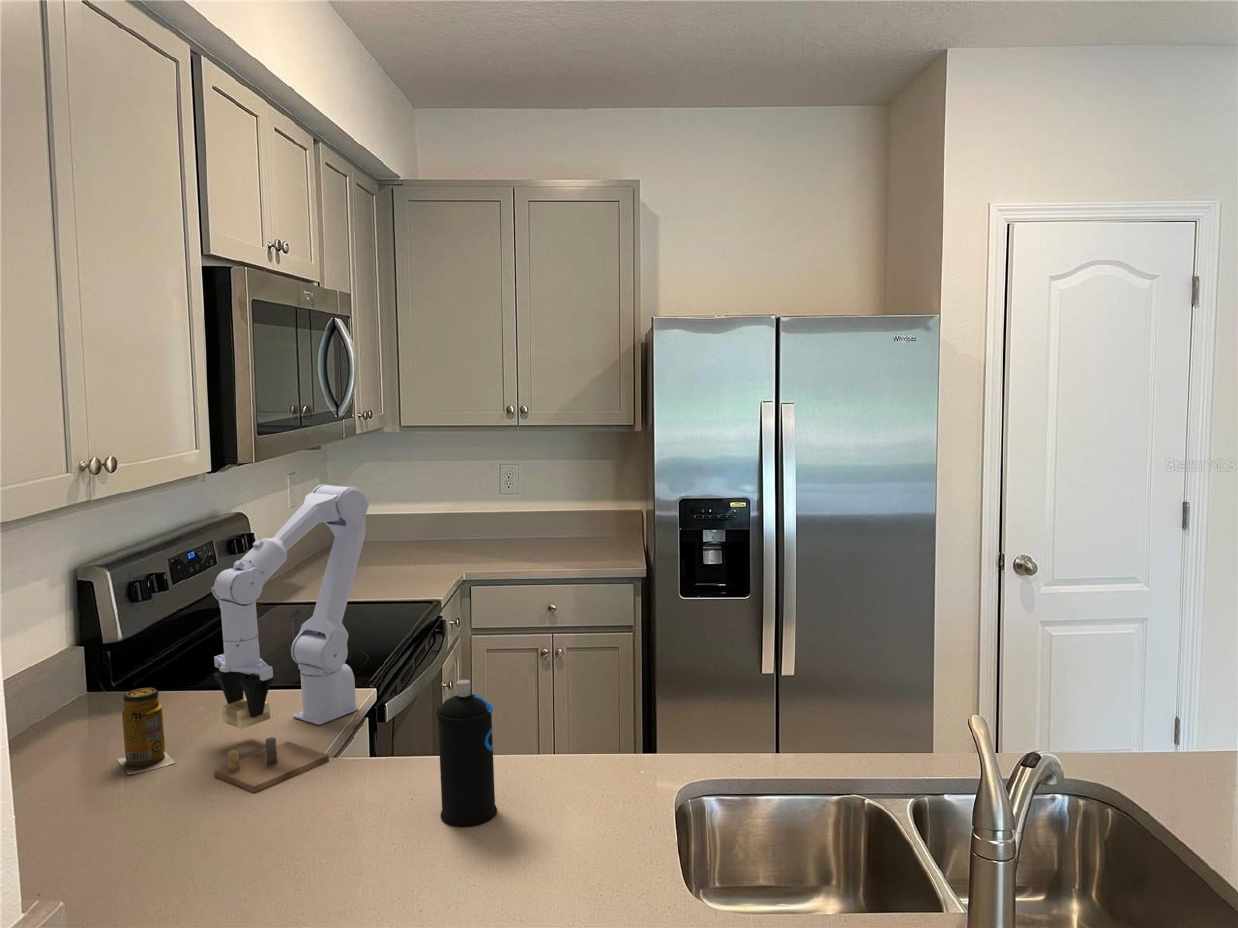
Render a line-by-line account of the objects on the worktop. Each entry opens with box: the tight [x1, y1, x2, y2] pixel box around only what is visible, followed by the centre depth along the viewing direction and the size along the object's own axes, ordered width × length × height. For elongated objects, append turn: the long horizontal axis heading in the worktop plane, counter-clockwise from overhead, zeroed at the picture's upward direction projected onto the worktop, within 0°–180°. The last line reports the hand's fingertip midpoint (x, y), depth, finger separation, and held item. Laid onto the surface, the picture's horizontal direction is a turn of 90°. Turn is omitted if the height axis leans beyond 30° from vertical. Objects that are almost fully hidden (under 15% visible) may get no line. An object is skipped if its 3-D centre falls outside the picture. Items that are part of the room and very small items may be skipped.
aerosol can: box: [435, 679, 498, 828], centre depth 137 cm, size 8×8×20 cm
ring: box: [221, 697, 271, 730], centre depth 165 cm, size 6×6×3 cm
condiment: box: [116, 687, 176, 775], centre depth 158 cm, size 7×8×12 cm
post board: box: [213, 736, 330, 794], centre depth 155 cm, size 14×11×5 cm
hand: (246, 712), depth 165 cm, fingers closed on ring, 6 cm apart
